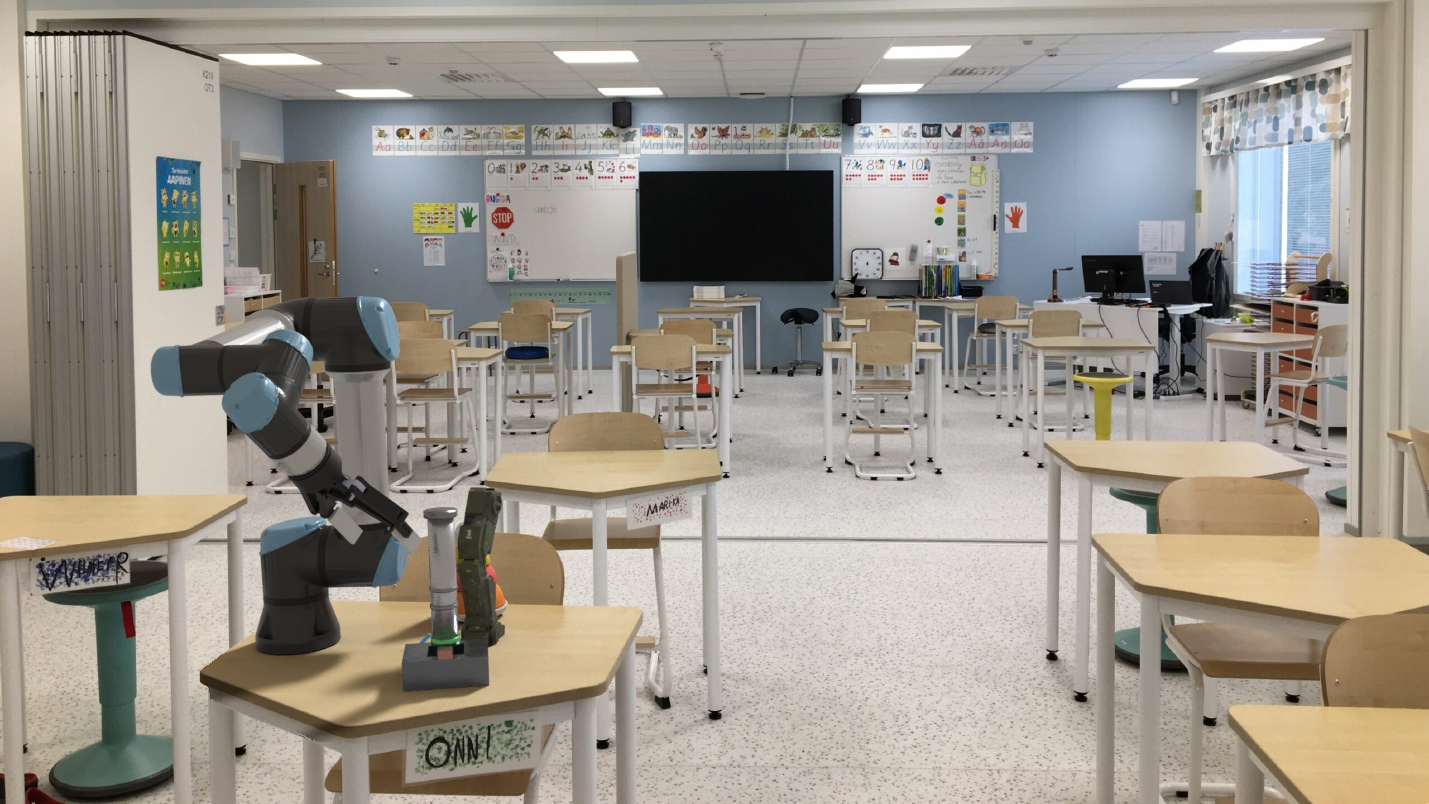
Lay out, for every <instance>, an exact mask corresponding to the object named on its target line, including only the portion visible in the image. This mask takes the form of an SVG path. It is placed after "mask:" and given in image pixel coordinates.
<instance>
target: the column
mask: <svg viewBox="0 0 1429 804" xmlns="http://www.w3.org/2000/svg"><path fill="white" fill-rule="evenodd" d="M422 513H423V514H422V517H423V518H424V519H425V520H426V521H427V522H426V523H427V524H426V525H427V526H426V527H427V542H428V543H427V547H428V568H429V569H428V571H429V587H428V590H429V593H430V594H429V595H430V603H429V609H430V618H431V619H430V620H431V632H432V635H431V636H430V642H431V645H432V646H434V647H450V646H455V645H458V644H459V643H460V642H461V641H460V639H461V633H460V631H459V621H458V601H457V589H458V584H457V578H456V553H455V548H456V540H455V529H456V527H455V518H457V517H458V508H456V507H453V506H451V507H450V506H440V507H439V506H438V507H429V508H426V509H424V510H423V511H422Z"/></svg>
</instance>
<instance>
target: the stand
mask: <svg viewBox="0 0 1429 804" xmlns="http://www.w3.org/2000/svg"><path fill="white" fill-rule="evenodd" d="M460 641H461V642H460V643H459V644H458V645H455V646H450V647H434V646H432V645H431V641H429V642H428V641H427V642H425V643H420V642H416V643H405V644H404V649H403V653H402V658H401V682H402V693H407V692H409V693H410V692H418V691H419V692H420V691H421V692H422V691H434V690H443V689H444V690H445V689H458V688H469V687H481V686H482V687H483V686H484V687H485V686H490V664H489V647H488V638H480V639H467V640H460Z"/></svg>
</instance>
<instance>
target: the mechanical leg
mask: <svg viewBox="0 0 1429 804" xmlns="http://www.w3.org/2000/svg"><path fill="white" fill-rule="evenodd" d="M502 507H503V500H502V492H501V491H498V490H496V488H495V487H479V486H478V487H477V486H475V487H474V486H472V487H470V488H469V490H468V493H467V499H466V504H465V511H464V518H463V521H464V523H463V525H462V526H460V529H459V536H458V542H457V541H456V543H457V547H458V560H457V568H458V574H459V578H460V583H461V589H462V595H463V601H464V607H465V619H464V620H465V622H463V623H462V625H461V628H460V640H467V639H480V638H488V648H490V647H491V646H492V645H494V644H496V643H498V642H499V641H500V639H501V637H502V636H503V635H505V633H506V625H505V624H502V622H501V621H499V616H497V614H496V611H495V605H496V584H495V582H494V578H493V577H492V576H491V575H489V577H486V576H487V572H486V556H487V554H488V555H490V554H492V551H493V550H492V548H493V545H494V539H495V535H496V534H495V533H496V529H497V524H498V519H499V515H500V513H501V510H502ZM463 559H464V560H463ZM489 646H490V647H489Z"/></svg>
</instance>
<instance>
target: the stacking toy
mask: <svg viewBox="0 0 1429 804" xmlns="http://www.w3.org/2000/svg"><path fill="white" fill-rule="evenodd" d="M463 523H464V520H462V521H461V522H459V523H458V524H457V526H456V527H455V542H456V543H457V542H458V536H459V529H460V526H462V525H463ZM455 553H456V578H457V584H458V589H457V601H458V622H463V623H465V620H464V619H465V607H464V601H463V595H462V589H461V583H460V578H459V574H458V568H457V560H458V546H455ZM463 560H464V559H463ZM486 572H487V576H486V577H489V575H491V576H492V577H493V578H494V582H495V584H496V605H495V611H496V614H497V617H499V615H501V614H503V613H504V612H505V611H506V610H507V608H508V604H509V603H508V601H507V600H506V599H505V597H504V593H503V591H502V589H501V587H500V586H499V585H498V584H497V583H498V575H497V574H496V573H497V572H496V571H495V569H494V568H493V566H492V565H491V557H490V554H487V556H486Z"/></svg>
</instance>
